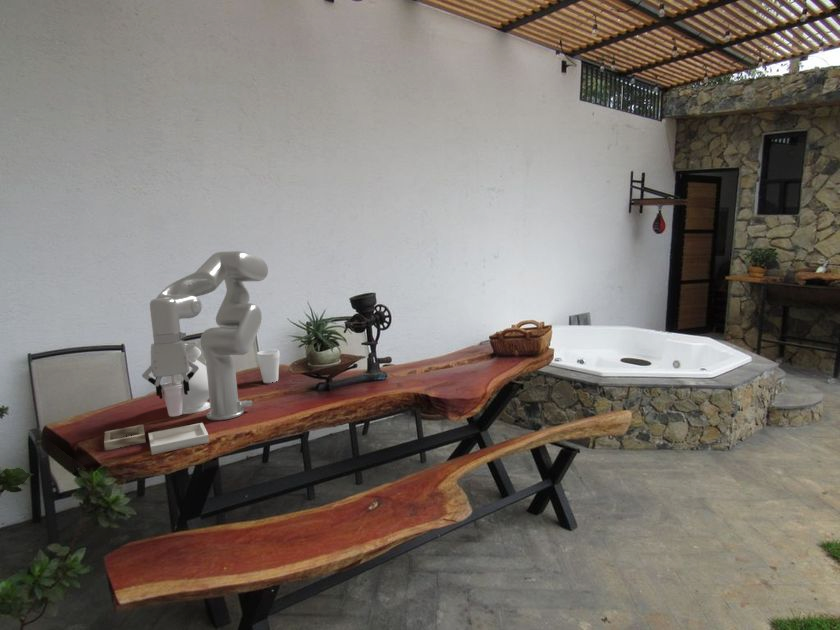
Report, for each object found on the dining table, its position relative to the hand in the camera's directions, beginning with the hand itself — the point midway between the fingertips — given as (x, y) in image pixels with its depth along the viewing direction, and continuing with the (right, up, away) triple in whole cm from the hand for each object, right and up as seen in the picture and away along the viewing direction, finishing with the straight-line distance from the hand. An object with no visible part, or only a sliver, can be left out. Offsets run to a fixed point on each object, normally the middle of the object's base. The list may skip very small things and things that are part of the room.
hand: (173, 395), depth 162 cm
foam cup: (+10, -4, +69) cm, 70 cm away
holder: (-17, -15, +5) cm, 24 cm away
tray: (+1, -15, +2) cm, 15 cm away
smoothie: (0, -6, +1) cm, 6 cm away
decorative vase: (-9, -10, +35) cm, 37 cm away
